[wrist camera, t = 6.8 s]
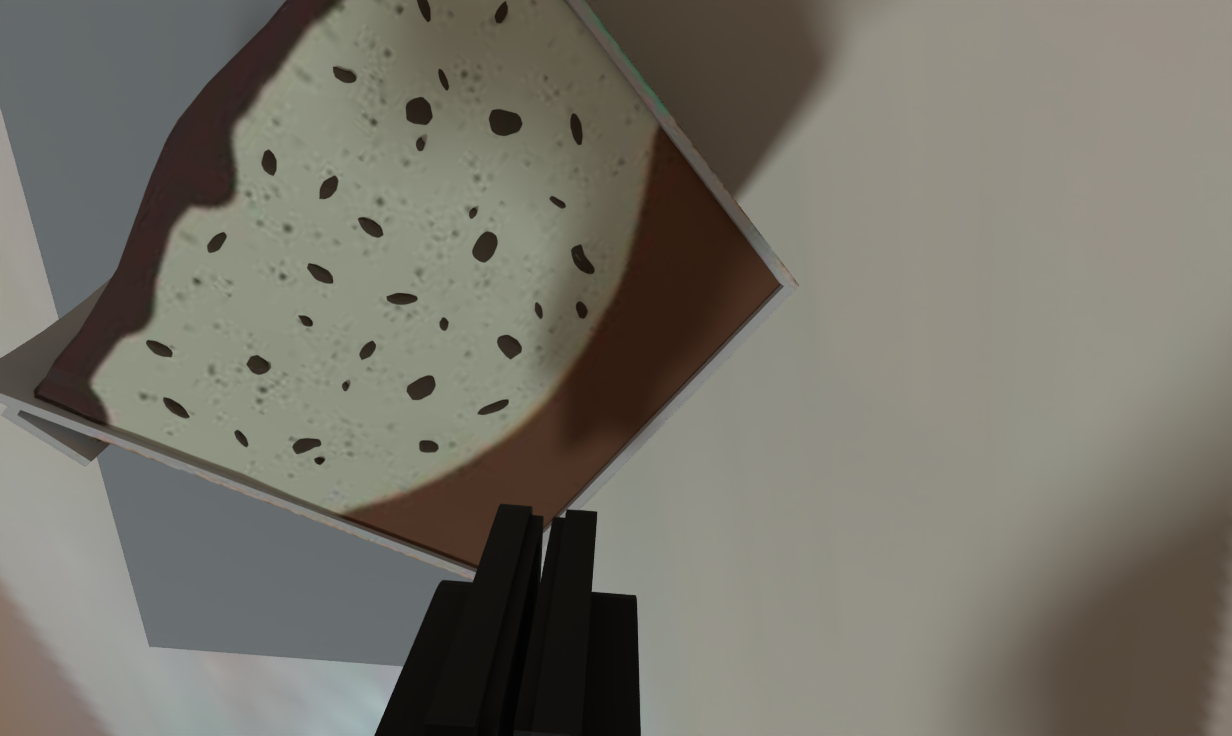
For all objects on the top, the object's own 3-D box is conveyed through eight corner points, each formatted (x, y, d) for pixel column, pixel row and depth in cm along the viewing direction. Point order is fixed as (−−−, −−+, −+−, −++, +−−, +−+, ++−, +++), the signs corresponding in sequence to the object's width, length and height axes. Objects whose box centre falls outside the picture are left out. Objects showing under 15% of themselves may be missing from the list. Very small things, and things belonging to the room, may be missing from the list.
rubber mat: (522, -54, 13) (519, -60, 13) (503, 664, 21) (501, 674, 21) (-43, -113, 13) (-63, -121, 12) (158, 637, 21) (149, 646, 20)
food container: (738, 182, 16) (438, -141, 12) (857, 226, 11) (387, -331, 7) (472, 475, 19) (151, 290, 15) (460, 631, 13) (-55, 406, 9)
